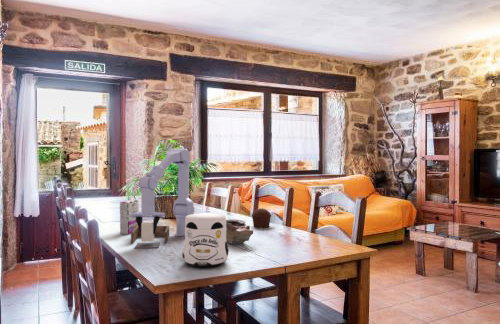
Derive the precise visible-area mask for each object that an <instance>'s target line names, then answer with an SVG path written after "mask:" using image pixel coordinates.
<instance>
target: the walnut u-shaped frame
mask: <svg viewBox="0 0 500 324" xmlns="http://www.w3.org/2000/svg"><path fill="white" fill-rule="evenodd" d="M139 237H140V238H141V234H140V229H139V226H136V227H135V229H134V230H133V231H132V232H131V234H130V244H131V245H132V244H134V243H135V242H136V240H137V239H138V238H139ZM154 237H164V244H167V243H168V240H169V237H170V225H157V227H156V232H155V234H154Z"/></svg>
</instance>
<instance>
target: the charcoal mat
mask: <svg viewBox="0 0 500 324" xmlns="http://www.w3.org/2000/svg"><path fill="white" fill-rule="evenodd" d="M160 245H161V242H156V241H155V242H154V241H149V242H137V243H136V245H135V246H134V249H136V250H137V249H140V250H141V249H144V250H145V249H159V247H160Z"/></svg>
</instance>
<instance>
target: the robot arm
mask: <svg viewBox="0 0 500 324" xmlns="http://www.w3.org/2000/svg"><path fill="white" fill-rule="evenodd" d="M190 161H191V153H190V151H189V150H188V149H187V148H169V149H168V150H167V151H165V156H164V157H163V159H162V160H161V161H160V163H159V164H158V165H154V166H152V168H151V170H150V171H149V172H147V174H146V175H145V176H141V178H139V182H137V183H138V187H139V191H140V195H141V197H140V198H141V199H140V200H141V201H140V202H141V203H140V204H141V206H140V207H141V211H140V212H138V213H131V218H136V222H137V224H138V226H139V229H140V234H141V223H142V222H143V220H144V219H143V218H153V220H152V221H154V229H153V234H155V232H156V227H157V226H158V224H159V221H160V218H165V217H166V216H165V213H166V212H159V211H158V212H157V211H155V208H156V206H155V205H156V204H155V196H156V195H155V194H156V192H155V191H156V188H158V183H159V181H160V180H161V179H162V177H163V176H164V175H165V170H167V169H168V167H169V166H171V164H174V165H175V166H177V168H178V172H177V173H178V174H177V176H178V177H177V181H178V182H177V198H176V200H174V202H173V207H172V214H173V215H174V217H175V218H176V220H175V221H176V222H175V223H176V224H175V225H176V226H175V228H176V229H175V230H176V231H175V234H174V236H175V237H185V218H186V216H187V215H191V214H195V206H194V201H193V200H192V199H190V198H189V195H190V191H189V189H190V164H191V163H190Z"/></svg>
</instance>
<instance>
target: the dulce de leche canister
mask: <svg viewBox="0 0 500 324" xmlns="http://www.w3.org/2000/svg"><path fill="white" fill-rule="evenodd" d="M226 220H227V217H226V215H224V214H220V213H208V212H207V213H205V212H203V213H194V214H191V215H187V216H186V218H185V236H184V243H183V246H182V259H183V261H184V262H185V263H186V264H187V265H189V266H193V267H199V268H209V267H216V266H220V265H223V264H224V263H225V262H227V260H228V257H229V244H228V242H227V241H226Z"/></svg>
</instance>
